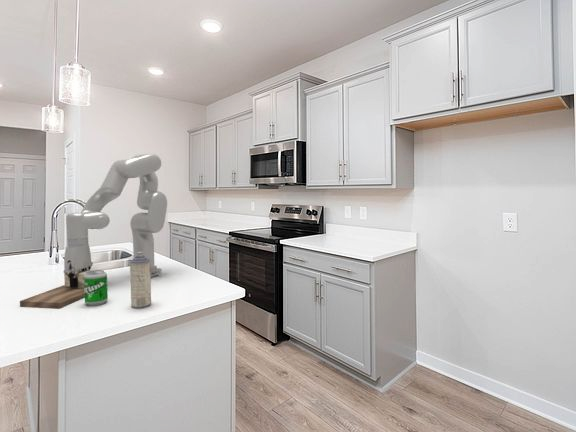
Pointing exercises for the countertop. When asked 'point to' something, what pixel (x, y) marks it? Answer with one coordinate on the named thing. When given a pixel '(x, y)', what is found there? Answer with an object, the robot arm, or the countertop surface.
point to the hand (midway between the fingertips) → (79, 284)
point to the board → (54, 298)
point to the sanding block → (79, 275)
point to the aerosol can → (140, 281)
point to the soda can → (95, 287)
